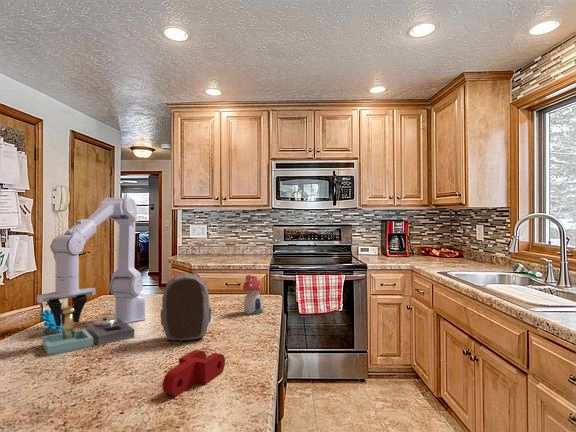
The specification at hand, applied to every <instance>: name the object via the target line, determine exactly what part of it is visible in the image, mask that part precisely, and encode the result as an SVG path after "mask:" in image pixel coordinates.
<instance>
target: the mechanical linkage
mask: <svg viewBox="0 0 576 432" xmlns="http://www.w3.org/2000/svg"><path fill="white" fill-rule="evenodd" d="M225 365H226V359H225V355H224V354H223V353H217V352H213V353H211V354H209V355H208V356H207V354H206V351H204V350H199V349H195V350H192V351H189V352H188V353H186V354H185V355H183V356H181V357H179V358H178V365H176V366H175V367H173V368H171V369H169V370H168V371H167V372H166V374H165V376H164V377H163V380H162V392H163V393H164V394H165V395H169V396H172V397H178V396H180V395H182V394H183V393H184V392H186V391H187V390H188V389H190V388H191V387H194V385H196V384H197V385H203V386H206V385H208V384H209V383H210V382H211V381H213V380H214V379H216V378H217V377H219V376H220V375H222V373H223V372H224V370H225Z"/></svg>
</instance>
